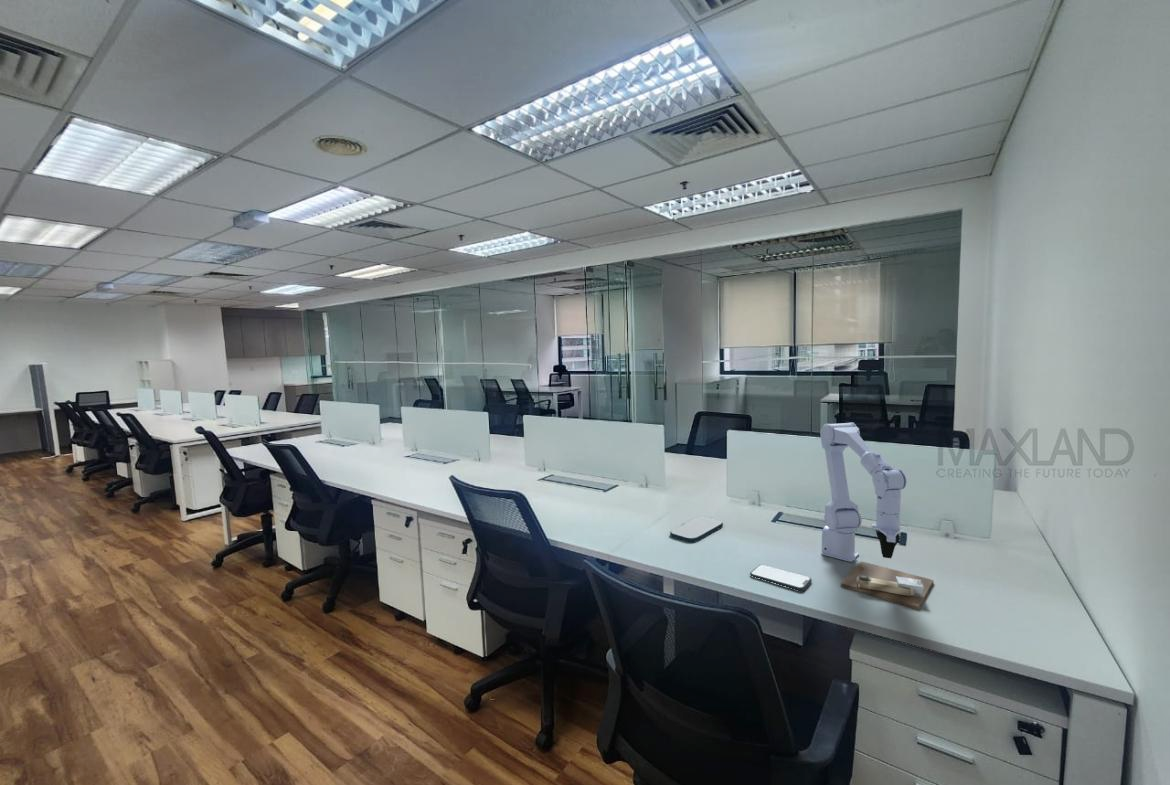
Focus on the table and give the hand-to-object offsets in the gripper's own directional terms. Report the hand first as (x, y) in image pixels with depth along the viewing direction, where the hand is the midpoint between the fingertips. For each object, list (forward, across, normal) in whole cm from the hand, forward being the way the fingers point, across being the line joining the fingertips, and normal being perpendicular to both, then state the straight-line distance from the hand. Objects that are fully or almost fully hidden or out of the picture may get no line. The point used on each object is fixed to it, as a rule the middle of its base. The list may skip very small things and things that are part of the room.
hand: (886, 557), depth 140 cm
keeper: (+8, +5, +5) cm, 10 cm away
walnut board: (+9, -1, 0) cm, 9 cm away
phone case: (+9, +6, -28) cm, 30 cm away
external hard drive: (+10, -23, -60) cm, 65 cm away
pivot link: (+8, +5, -1) cm, 9 cm away
